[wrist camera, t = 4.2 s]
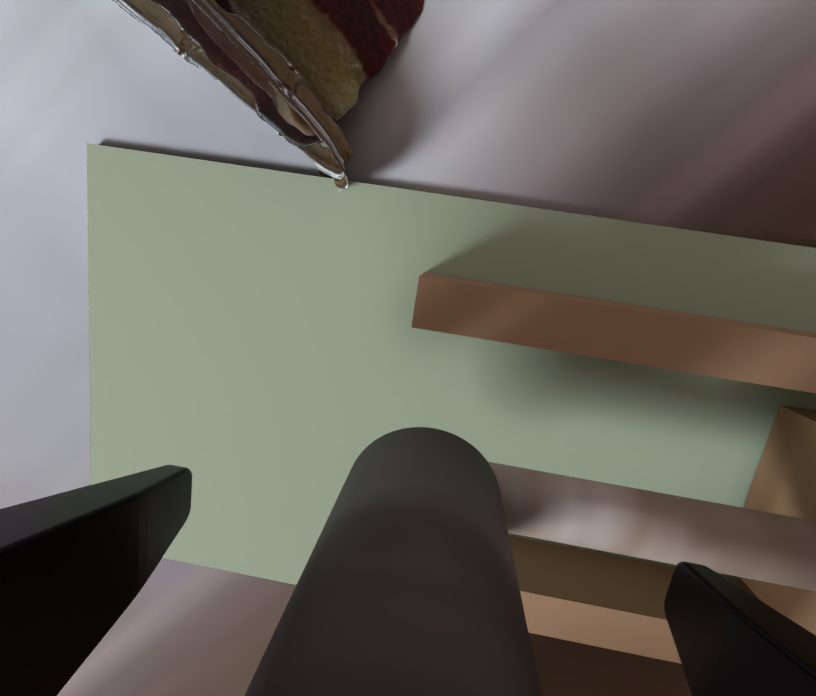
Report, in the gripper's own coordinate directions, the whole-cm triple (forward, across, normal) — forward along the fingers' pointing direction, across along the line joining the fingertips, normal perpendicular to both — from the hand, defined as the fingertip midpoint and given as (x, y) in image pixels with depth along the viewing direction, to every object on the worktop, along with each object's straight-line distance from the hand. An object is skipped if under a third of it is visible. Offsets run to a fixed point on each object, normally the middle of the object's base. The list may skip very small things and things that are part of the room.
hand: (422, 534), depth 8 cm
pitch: (+6, -9, 0) cm, 11 cm away
